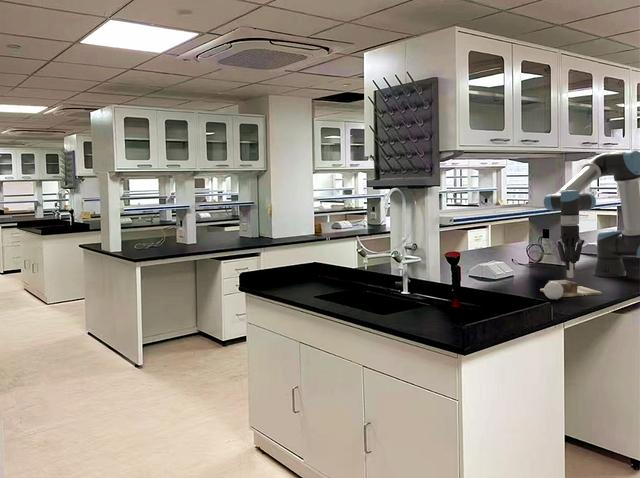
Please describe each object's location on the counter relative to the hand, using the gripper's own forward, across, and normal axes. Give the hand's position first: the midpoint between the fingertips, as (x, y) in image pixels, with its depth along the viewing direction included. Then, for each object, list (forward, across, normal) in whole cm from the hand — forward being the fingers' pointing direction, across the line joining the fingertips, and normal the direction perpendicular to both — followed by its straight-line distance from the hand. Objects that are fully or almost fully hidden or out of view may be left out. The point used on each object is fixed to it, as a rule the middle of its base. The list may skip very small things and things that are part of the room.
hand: (570, 277), depth 254 cm
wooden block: (+4, 0, 0) cm, 4 cm away
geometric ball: (+7, -14, -11) cm, 19 cm away
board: (+7, 0, 0) cm, 7 cm away
